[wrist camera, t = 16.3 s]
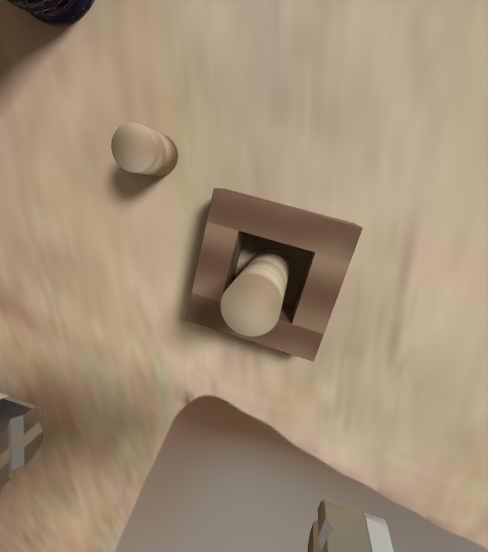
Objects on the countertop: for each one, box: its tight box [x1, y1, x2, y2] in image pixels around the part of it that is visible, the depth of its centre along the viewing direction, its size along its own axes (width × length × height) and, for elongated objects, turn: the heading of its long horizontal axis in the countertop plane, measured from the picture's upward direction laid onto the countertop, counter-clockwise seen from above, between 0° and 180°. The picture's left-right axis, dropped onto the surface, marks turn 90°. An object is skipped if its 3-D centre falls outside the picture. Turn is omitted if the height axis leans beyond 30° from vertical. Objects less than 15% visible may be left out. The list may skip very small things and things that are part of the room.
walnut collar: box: [186, 188, 362, 362], centre depth 30 cm, size 13×13×4 cm
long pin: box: [221, 249, 290, 336], centre depth 26 cm, size 4×4×12 cm
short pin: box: [111, 123, 178, 176], centre depth 29 cm, size 4×4×5 cm
